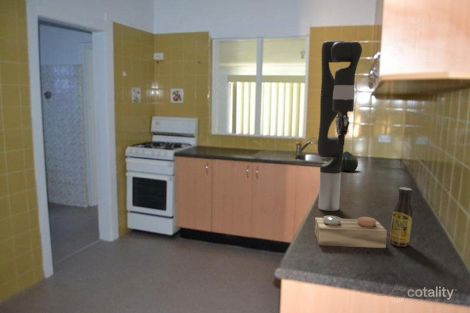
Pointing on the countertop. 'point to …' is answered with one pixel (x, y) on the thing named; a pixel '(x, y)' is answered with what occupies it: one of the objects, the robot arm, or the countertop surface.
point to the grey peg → (332, 220)
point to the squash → (349, 162)
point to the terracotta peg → (367, 222)
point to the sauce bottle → (402, 219)
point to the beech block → (350, 234)
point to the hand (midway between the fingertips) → (340, 145)
